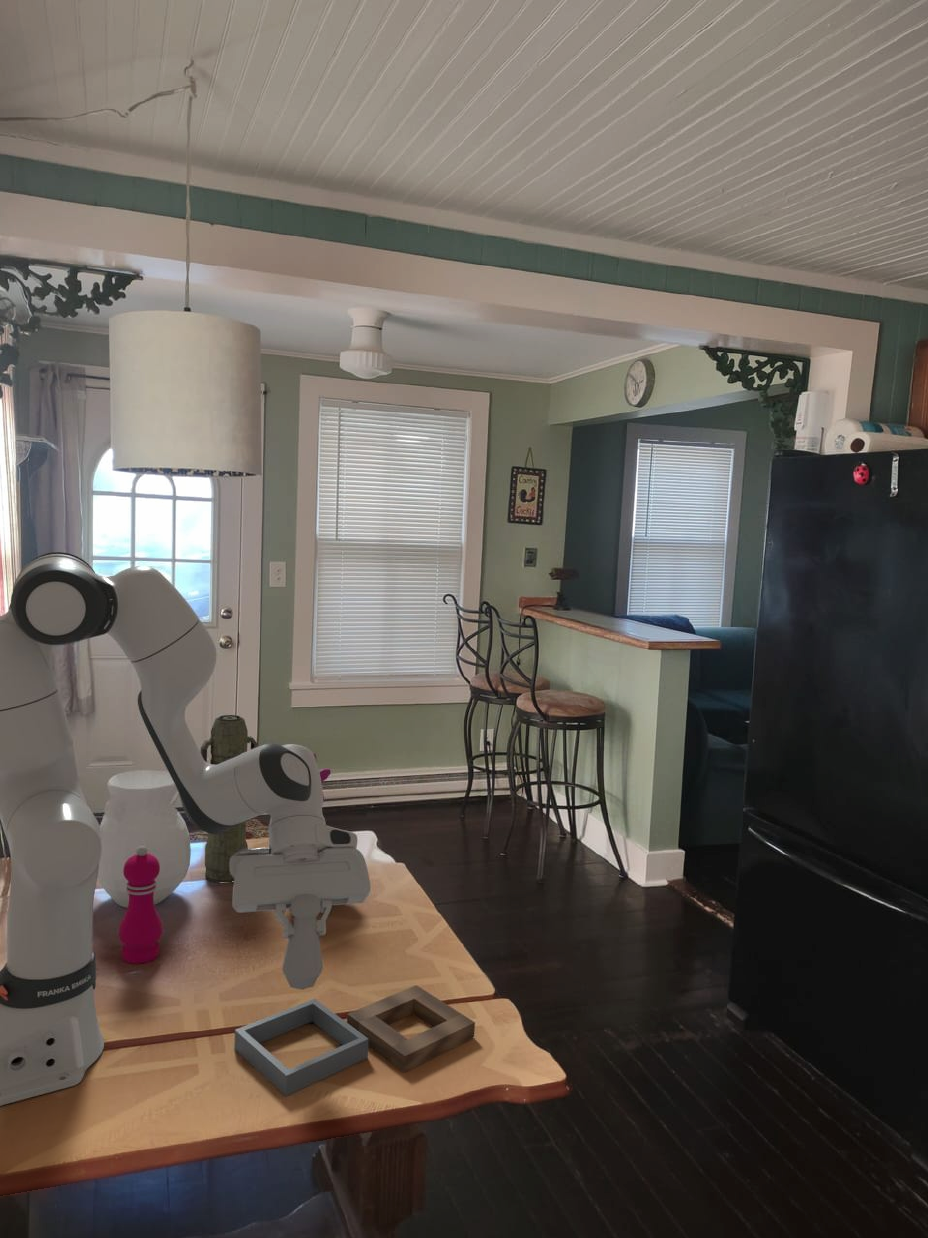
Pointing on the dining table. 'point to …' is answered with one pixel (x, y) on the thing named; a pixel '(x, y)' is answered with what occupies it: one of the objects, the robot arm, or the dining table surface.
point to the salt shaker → (303, 944)
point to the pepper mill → (140, 909)
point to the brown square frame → (421, 1047)
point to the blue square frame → (312, 1069)
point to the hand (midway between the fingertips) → (305, 935)
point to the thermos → (219, 848)
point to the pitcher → (143, 832)
